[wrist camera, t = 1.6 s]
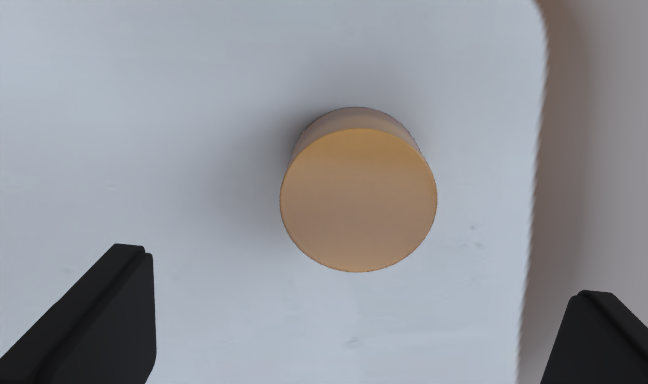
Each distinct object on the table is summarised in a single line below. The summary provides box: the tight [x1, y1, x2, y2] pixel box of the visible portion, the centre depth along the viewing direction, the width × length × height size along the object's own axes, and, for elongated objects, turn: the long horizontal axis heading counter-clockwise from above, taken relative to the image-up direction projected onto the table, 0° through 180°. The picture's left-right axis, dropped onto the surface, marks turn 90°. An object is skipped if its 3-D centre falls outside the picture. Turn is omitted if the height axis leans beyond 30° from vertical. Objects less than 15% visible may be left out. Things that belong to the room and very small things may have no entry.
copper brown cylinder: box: [280, 107, 437, 272], centre depth 16 cm, size 5×5×3 cm
